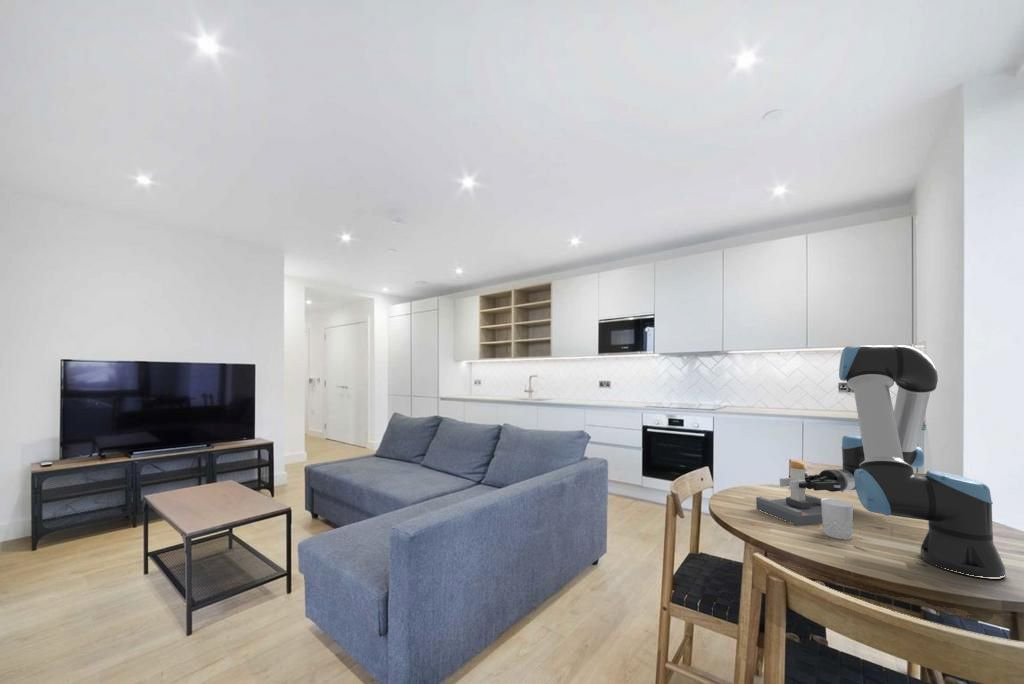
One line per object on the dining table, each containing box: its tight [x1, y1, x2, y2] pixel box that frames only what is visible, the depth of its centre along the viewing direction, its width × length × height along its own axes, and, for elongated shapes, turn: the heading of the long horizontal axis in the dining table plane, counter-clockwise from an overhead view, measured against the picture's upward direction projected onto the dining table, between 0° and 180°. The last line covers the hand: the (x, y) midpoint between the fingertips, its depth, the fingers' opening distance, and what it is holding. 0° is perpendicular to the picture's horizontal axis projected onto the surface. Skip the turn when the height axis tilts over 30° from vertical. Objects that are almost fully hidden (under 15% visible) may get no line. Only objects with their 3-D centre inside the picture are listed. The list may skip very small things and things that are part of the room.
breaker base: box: [755, 493, 823, 527], centre depth 146 cm, size 16×22×4 cm
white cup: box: [820, 498, 854, 541], centre depth 129 cm, size 8×8×10 cm
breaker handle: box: [785, 460, 811, 509], centre depth 147 cm, size 6×4×15 cm, turn 16°
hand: (785, 484), depth 145 cm, fingers closed on breaker handle, 3 cm apart
